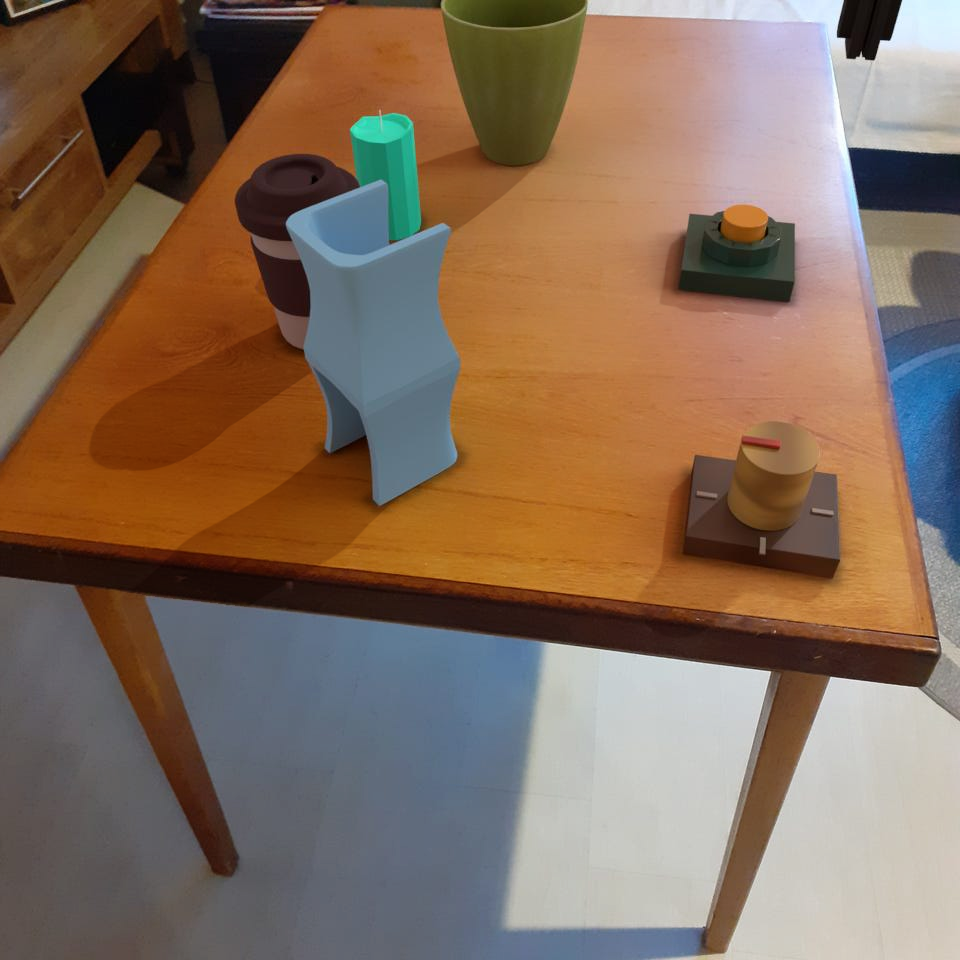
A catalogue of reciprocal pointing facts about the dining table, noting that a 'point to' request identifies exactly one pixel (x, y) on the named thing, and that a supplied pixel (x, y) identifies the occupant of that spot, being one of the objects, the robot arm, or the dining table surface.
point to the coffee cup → (265, 214)
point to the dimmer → (731, 540)
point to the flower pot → (514, 70)
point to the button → (744, 223)
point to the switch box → (738, 261)
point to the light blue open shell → (378, 336)
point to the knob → (772, 475)
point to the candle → (390, 167)
